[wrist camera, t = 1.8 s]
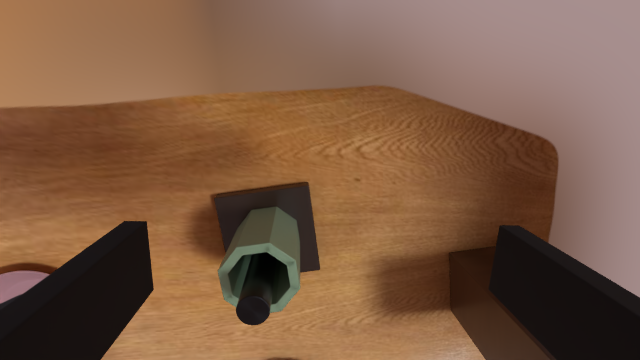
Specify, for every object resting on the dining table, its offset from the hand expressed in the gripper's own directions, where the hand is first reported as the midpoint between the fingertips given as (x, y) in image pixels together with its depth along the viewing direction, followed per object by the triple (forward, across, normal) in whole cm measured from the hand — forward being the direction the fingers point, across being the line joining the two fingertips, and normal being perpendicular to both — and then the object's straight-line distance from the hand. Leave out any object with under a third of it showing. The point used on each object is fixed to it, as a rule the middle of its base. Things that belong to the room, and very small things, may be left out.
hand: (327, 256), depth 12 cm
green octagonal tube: (+22, -4, -9) cm, 24 cm away
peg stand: (+24, -4, -9) cm, 26 cm away
